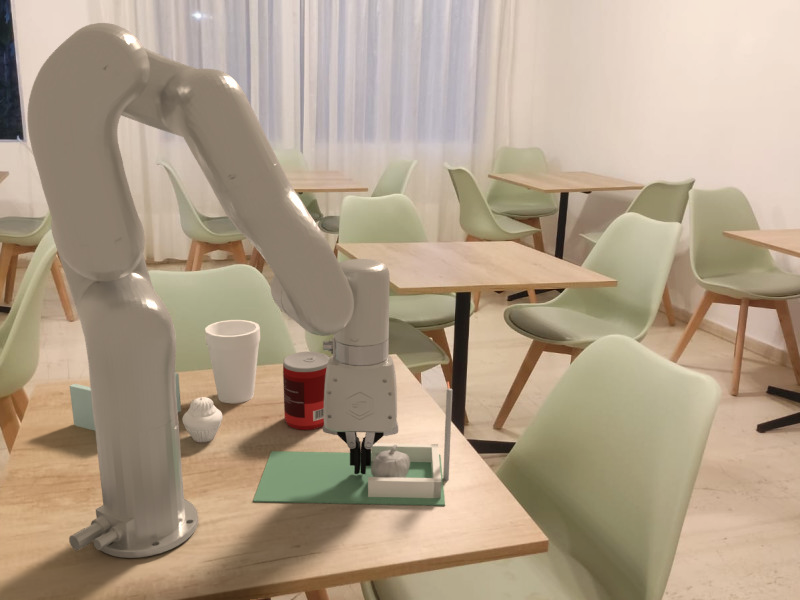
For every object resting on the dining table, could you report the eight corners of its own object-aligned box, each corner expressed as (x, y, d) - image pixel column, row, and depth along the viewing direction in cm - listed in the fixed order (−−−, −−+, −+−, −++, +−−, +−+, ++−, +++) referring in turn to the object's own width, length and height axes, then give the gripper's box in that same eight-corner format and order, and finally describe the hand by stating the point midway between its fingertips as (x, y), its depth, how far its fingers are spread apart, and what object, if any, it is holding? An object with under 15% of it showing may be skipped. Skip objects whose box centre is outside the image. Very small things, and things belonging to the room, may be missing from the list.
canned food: (334, 411, 127) (334, 352, 124) (325, 432, 120) (324, 369, 117) (291, 409, 128) (289, 349, 125) (279, 429, 120) (277, 367, 117)
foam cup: (221, 384, 138) (217, 318, 134) (268, 387, 137) (266, 321, 133) (201, 405, 129) (196, 335, 125) (251, 409, 128) (248, 338, 124)
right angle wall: (181, 413, 127) (178, 373, 125) (131, 442, 116) (126, 399, 114) (127, 401, 131) (123, 361, 129) (74, 428, 121) (69, 385, 119)
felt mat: (253, 501, 100) (253, 500, 99) (271, 452, 113) (271, 451, 113) (444, 505, 99) (445, 504, 99) (440, 455, 113) (440, 454, 113)
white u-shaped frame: (368, 498, 101) (368, 404, 97) (371, 458, 111) (372, 373, 108) (450, 499, 101) (454, 406, 97) (446, 460, 111) (450, 374, 108)
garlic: (392, 467, 109) (393, 435, 107) (418, 481, 105) (419, 448, 103) (362, 481, 105) (362, 448, 103) (387, 496, 101) (388, 462, 100)
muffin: (183, 431, 119) (180, 392, 117) (221, 427, 121) (219, 387, 119) (184, 449, 113) (181, 407, 111) (225, 444, 115) (223, 403, 113)
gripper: (303, 358, 97) (305, 482, 102) (416, 360, 97) (412, 484, 102) (309, 339, 104) (311, 456, 109) (415, 341, 104) (412, 457, 109)
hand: (360, 469), depth 106 cm, fingers closed
